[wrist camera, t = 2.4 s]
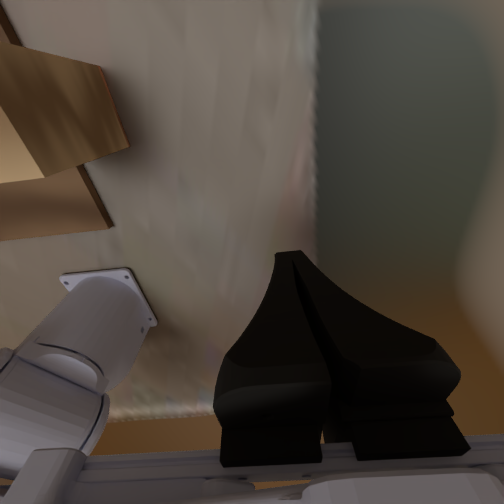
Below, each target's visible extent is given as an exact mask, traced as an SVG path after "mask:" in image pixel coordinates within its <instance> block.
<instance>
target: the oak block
mask: <svg viewBox="0 0 504 504" xmlns="http://www.w3.org/2000/svg"><path fill="white" fill-rule="evenodd" d="M128 147H130V144H129V142H128V139H127V136H126V134H125V131H124V128H123V126H122V123H121V121H120V118H119V115H118V113H117V110H116V107H115V105H114V102H113V100H112V97H111V94H110V92H109V89H108V86H107V84H106V81H105V79H104V76H103V73H102V71H101V68H100V66H97V65H93V64H89V63H85V62H81V61H77V60H73V59H69V58H65V57H61V56H57V55H53V54H49V53H45V52H41V51H37V50H33V49H29V48H25V47H21V46H17V45H13V44H9V43H5V42H1V41H0V183H6V182H14V181H22V180H30V179H38V178H45V177H48V176H51V175H54V174H56V173H59V172H62V171H65V170H67V169H70V168H73V167H76V166H78V165H81V164H84V163H87V162H89V161H92V160H95V159H98V158H100V157H103V156H106V155H108V154H111V153H114V152H117V151H119V150H122V149H125V148H128Z"/></svg>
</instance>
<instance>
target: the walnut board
mask: <svg viewBox="0 0 504 504" xmlns="http://www.w3.org/2000/svg"><path fill="white" fill-rule="evenodd" d="M0 41H1V42H5V43H9V44H13V45H17V46H21V44H20V42H19V40H18V38H17V36H16V34H15V32H14V30H13V29H12V27H11V25H10V23H9V21H8V19H7V17H6V15H5V13H4V11H3V9H2V7H1V5H0ZM21 47H22V46H21ZM112 226H113V224H112V222H111V220H110V218H109V216H108V214H107V212H106V210H105V208H104V206H103V204H102V202H101V200H100V198H99V196H98V194H97V192H96V190H95V189H94V187H93V185H92V183H91V181H90V179H89V177H88V175H87V173H86V171H85V169H84V167H83V165H82V164H81V165H78V166H76V167H73V168H70V169H67V170H65V171H62V172H59V173H56V174H54V175H51V176H48V177H45V178H38V179H30V180H22V181H14V182H6V183H0V241H5V240H14V239H23V238H33V237H42V236H51V235H60V234H69V233H78V232H87V231H96V230H105V229H110V228H111V227H112Z"/></svg>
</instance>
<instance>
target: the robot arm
mask: <svg viewBox="0 0 504 504" xmlns="http://www.w3.org/2000/svg"><path fill="white" fill-rule="evenodd" d="M128 276H129V277H128ZM59 279H60V281H61V282H62V284H63V285H64V286H65V287H66V289H67V290H68V291H69V293H68V294H67V295H66V296H65V297H64V299H63V300H62V301H61V302H60V303H59V304H58V305H57V306H56V307H55V308H54V309H53V310H52V311H51V312H50V313H49V314H48V315H47V316H46V317H45V319H44V320H43V321H42V322H41V323H40V324H39V325H38V326H37V327H36V328H35V329H34V330H33V331H32V332H31V333H30V334H29V335H28V336H27V337H26V339H25V340H24V341H23V342H22V343H21V344H20V345H19V346H18V347H17V348H16V349H14V350H12V349H9V348H6V347H5V348H2V349H0V478H5V479H10V480H14V482H13V483H12V484H11V485H0V504H504V434H493V435H474V436H463V435H462V433H461V432H460V430H459V429H458V427H457V425H456V424H455V422H454V421H453V419H452V418H451V416H453V415H454V411H453V410H452V408H451V407H450V405H449V404H448V402H447V400H446V399H447V397H448V396H449V395H450V393H451V392H452V391H453V390H454V389H455V387H456V386H457V385H458V383H459V381H460V378H461V371H460V370H459V368H458V367H457V366H456V365H455V363H454V362H453V361H452V359H451V358H450V357H449V355H448V354H447V353H446V351H445V350H444V349H443V348H442V347H441V346H440V345H439V343H437V341H436V340H435V339H433V338H431V337H429V336H426V335H424V334H422V333H420V332H417V331H415V330H413V329H410V328H408V327H406V326H404V325H401V324H399V323H397V322H395V321H393V320H391V319H389V318H387V317H385V316H383V315H382V314H379V313H378V312H376V311H374V310H373V309H371V308H369V307H368V306H366V305H364V304H363V303H361V302H359V301H358V300H356V299H355V298H353V297H352V296H350V295H349V294H348V293H346V292H345V291H343V290H342V289H341V288H339V287H338V286H337V285H335V283H333V282H332V281H331V280H330V279H329V278H328V277H326V276H325V275H324V274H323V273H322V272H321V271H320V270H319V269H318V268H317V267H316V266H315V265H314V264H313V263H312V262H311V261H310V260H309V258H308V257H307V256H306V255H305V254H304V253H303V252H302V251H301V250H297V251H287V252H277V253H276V254H275V264H274V269H273V273H272V277H271V280H270V283H269V286H268V289H267V291H266V294H265V296H264V298H263V300H262V302H261V304H260V306H259V308H258V310H257V312H256V314H255V315H254V317H253V319H252V320H251V322H250V323H249V325H248V326H247V328H246V329H245V331H244V332H243V333H242V335H241V336H240V338H239V339H238V340H237V341H236V343H235V344H234V345H233V346H232V347H231V349H230V350H229V351H228V352H227V353H226V355H225V357H224V359H223V362H222V365H221V368H220V371H219V374H218V378H217V382H216V386H215V394H214V402H213V409H214V412H215V415H216V417H217V418H218V421H219V423H220V425H221V427H222V437H221V449H214V450H195V451H177V452H157V453H141V454H140V453H138V454H119V455H102V456H89V455H90V453H91V452H92V450H93V449H94V447H95V445H96V444H97V442H98V440H99V438H100V436H101V434H102V432H103V430H104V428H105V425H106V422H107V419H108V415H109V407H110V398H109V396H108V395H107V394H106V393H105V392H107V391H109V390H111V389H113V388H114V387H116V386H117V385H118V384H119V383H120V382H121V381H122V380H123V379H124V378H125V377H126V376H127V374H128V373H129V371H130V370H131V368H132V366H133V364H134V361H135V359H136V357H137V355H138V352H139V350H140V348H141V346H142V343H143V341H144V339H145V337H146V334H147V332H148V330H149V328H150V327H154V326H157V323H158V322H157V320H156V318H155V316H154V314H153V312H152V311H151V309H150V307H149V305H148V303H147V301H146V299H145V297H144V295H143V294H142V292H141V290H140V288H139V286H138V284H137V282H136V280H135V279H134V277H133V275H132V273H131V271H130V270H129V269H127V268H121V269H111V270H101V271H91V272H82V273H72V274H63V275H61V276H60V277H59ZM322 431H323V437H324V442H325V444H320V440H321V434H322ZM313 479H314V480H313ZM290 480H311V481H310V482H309V483H305V484H297V485H290V486H282V487H275V488H267V489H260V490H255V486H254V485H253V484H252V483H249V482H266V481H267V482H268V481H290Z"/></svg>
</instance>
